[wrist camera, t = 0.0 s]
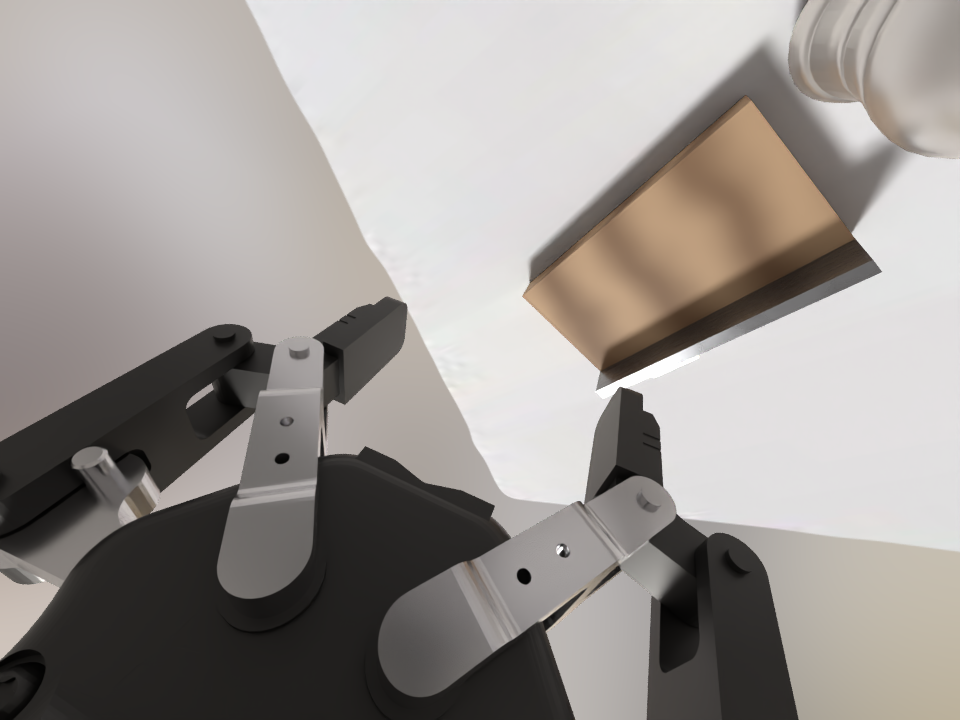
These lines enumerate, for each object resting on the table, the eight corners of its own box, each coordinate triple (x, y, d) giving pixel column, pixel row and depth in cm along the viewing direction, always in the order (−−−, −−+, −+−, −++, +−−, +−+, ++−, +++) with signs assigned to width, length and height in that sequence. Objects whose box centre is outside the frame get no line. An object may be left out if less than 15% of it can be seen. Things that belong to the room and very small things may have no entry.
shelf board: (745, 94, 23) (751, 100, 21) (850, 234, 25) (863, 250, 23) (529, 283, 37) (522, 296, 35) (609, 362, 39) (606, 377, 37)
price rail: (855, 238, 23) (872, 259, 21) (868, 256, 23) (887, 279, 21) (600, 371, 37) (595, 391, 35) (610, 381, 37) (607, 402, 35)
